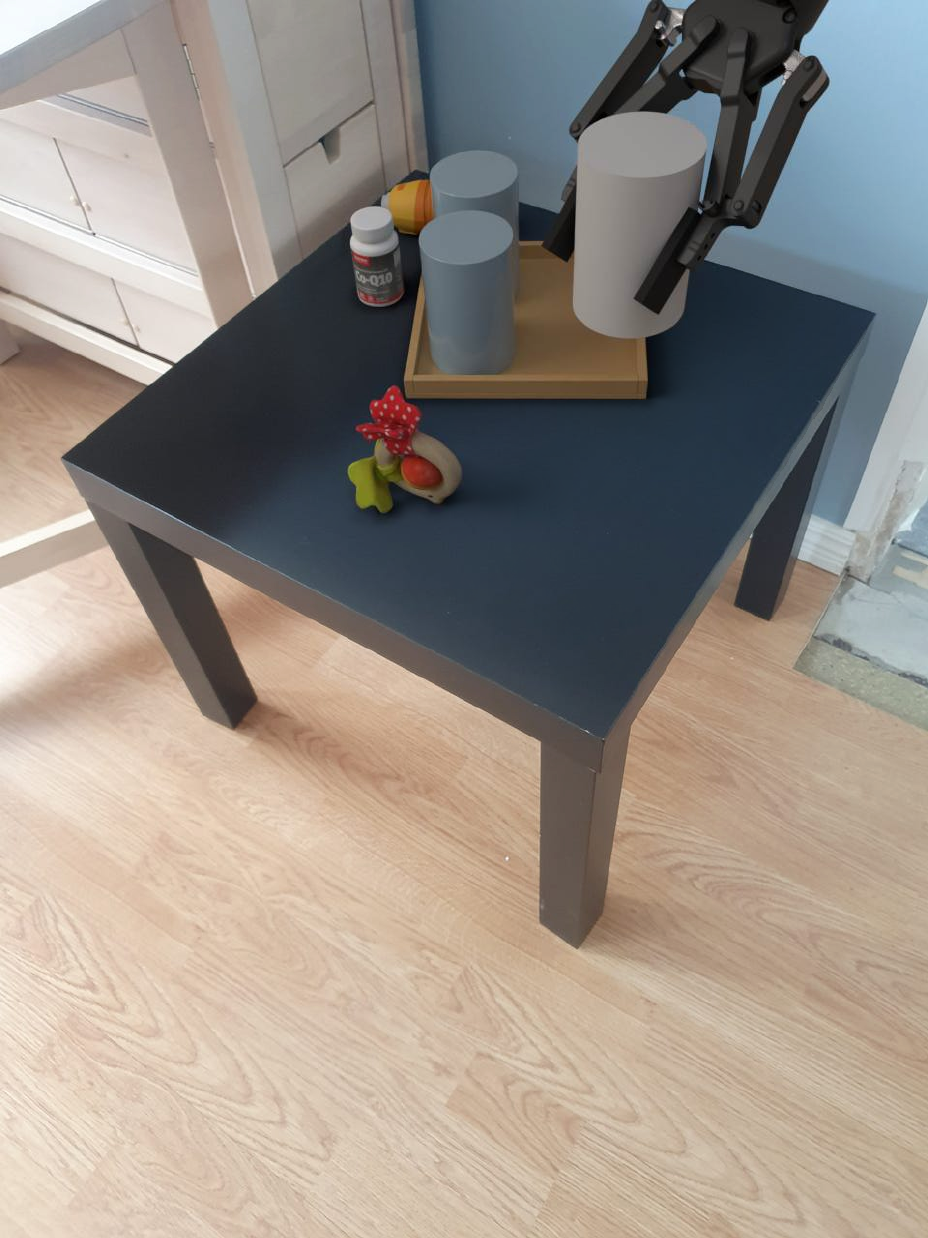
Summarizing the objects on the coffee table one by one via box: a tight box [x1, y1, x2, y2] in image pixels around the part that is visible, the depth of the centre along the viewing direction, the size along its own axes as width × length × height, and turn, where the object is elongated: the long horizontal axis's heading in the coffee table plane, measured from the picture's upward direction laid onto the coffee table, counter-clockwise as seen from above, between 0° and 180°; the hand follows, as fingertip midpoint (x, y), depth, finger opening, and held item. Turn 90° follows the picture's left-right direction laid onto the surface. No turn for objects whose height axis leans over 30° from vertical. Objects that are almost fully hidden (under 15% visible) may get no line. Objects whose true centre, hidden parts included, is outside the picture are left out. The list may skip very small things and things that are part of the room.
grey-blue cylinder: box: [429, 149, 520, 298], centre depth 94 cm, size 8×8×12 cm
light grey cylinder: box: [573, 112, 708, 338], centre depth 68 cm, size 8×8×12 cm
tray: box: [403, 240, 649, 400], centre depth 95 cm, size 22×22×2 cm
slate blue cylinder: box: [418, 210, 516, 375], centre depth 88 cm, size 8×8×12 cm
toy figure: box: [380, 179, 434, 236], centre depth 104 cm, size 5×6×12 cm
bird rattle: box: [347, 384, 463, 514], centre depth 79 cm, size 6×11×9 cm
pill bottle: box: [349, 205, 405, 308], centre depth 97 cm, size 5×5×8 cm
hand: (599, 279), depth 69 cm, fingers closed on light grey cylinder, 8 cm apart
